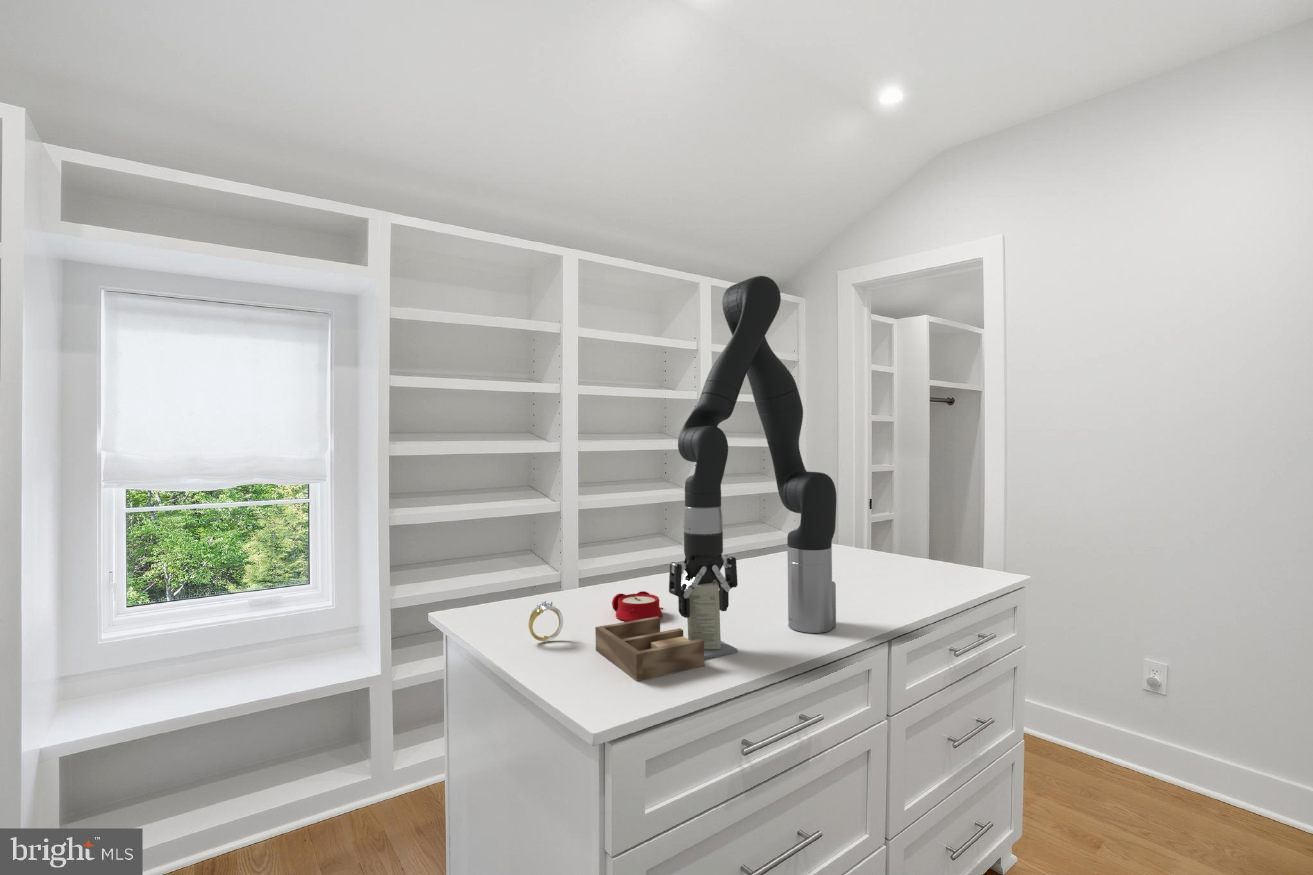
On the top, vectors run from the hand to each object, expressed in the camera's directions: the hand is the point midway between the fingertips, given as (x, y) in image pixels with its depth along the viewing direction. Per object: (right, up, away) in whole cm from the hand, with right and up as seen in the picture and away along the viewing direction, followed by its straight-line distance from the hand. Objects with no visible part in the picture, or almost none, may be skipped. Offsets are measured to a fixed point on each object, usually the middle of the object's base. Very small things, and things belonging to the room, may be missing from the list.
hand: (704, 613), depth 119 cm
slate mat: (0, -7, 0) cm, 7 cm away
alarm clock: (-14, -8, +24) cm, 29 cm away
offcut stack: (-6, -7, -7) cm, 12 cm away
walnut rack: (-10, -7, -4) cm, 13 cm away
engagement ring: (-31, -8, +5) cm, 33 cm away
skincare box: (0, -7, 0) cm, 7 cm away
